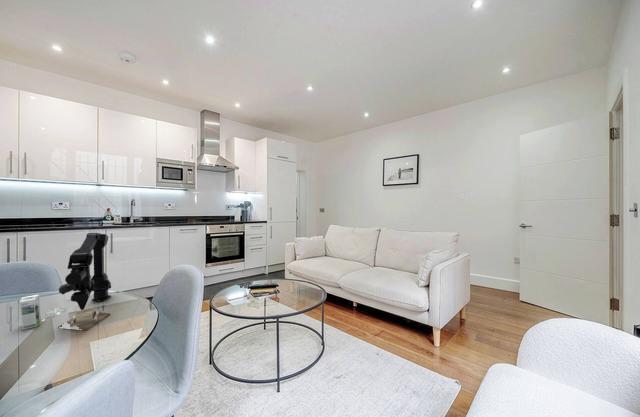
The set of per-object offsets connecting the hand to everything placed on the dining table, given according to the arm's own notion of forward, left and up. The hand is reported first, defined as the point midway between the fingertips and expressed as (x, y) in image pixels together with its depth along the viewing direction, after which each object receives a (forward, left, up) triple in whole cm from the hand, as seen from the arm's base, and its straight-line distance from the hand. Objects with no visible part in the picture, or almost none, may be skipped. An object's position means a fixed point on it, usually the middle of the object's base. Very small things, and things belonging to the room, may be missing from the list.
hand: (84, 305), depth 130 cm
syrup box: (+6, -21, -9) cm, 24 cm away
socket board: (0, 0, -9) cm, 9 cm away
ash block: (0, 0, -8) cm, 8 cm away
